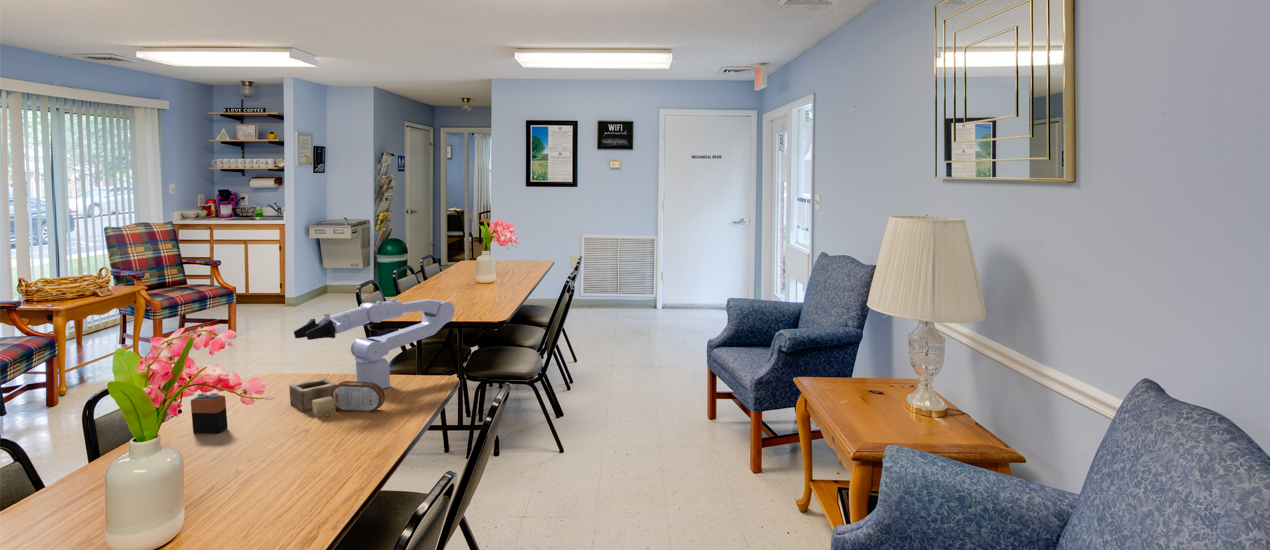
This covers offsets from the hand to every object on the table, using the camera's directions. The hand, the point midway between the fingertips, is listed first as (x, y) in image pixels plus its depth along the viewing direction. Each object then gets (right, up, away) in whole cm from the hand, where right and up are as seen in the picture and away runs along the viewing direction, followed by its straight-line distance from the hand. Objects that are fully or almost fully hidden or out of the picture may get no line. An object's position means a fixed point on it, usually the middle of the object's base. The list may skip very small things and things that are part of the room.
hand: (300, 335), depth 198 cm
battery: (-14, -23, -19) cm, 33 cm away
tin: (+18, -21, -2) cm, 28 cm away
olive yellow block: (+9, -22, -6) cm, 24 cm away
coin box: (+3, -20, +3) cm, 21 cm away
